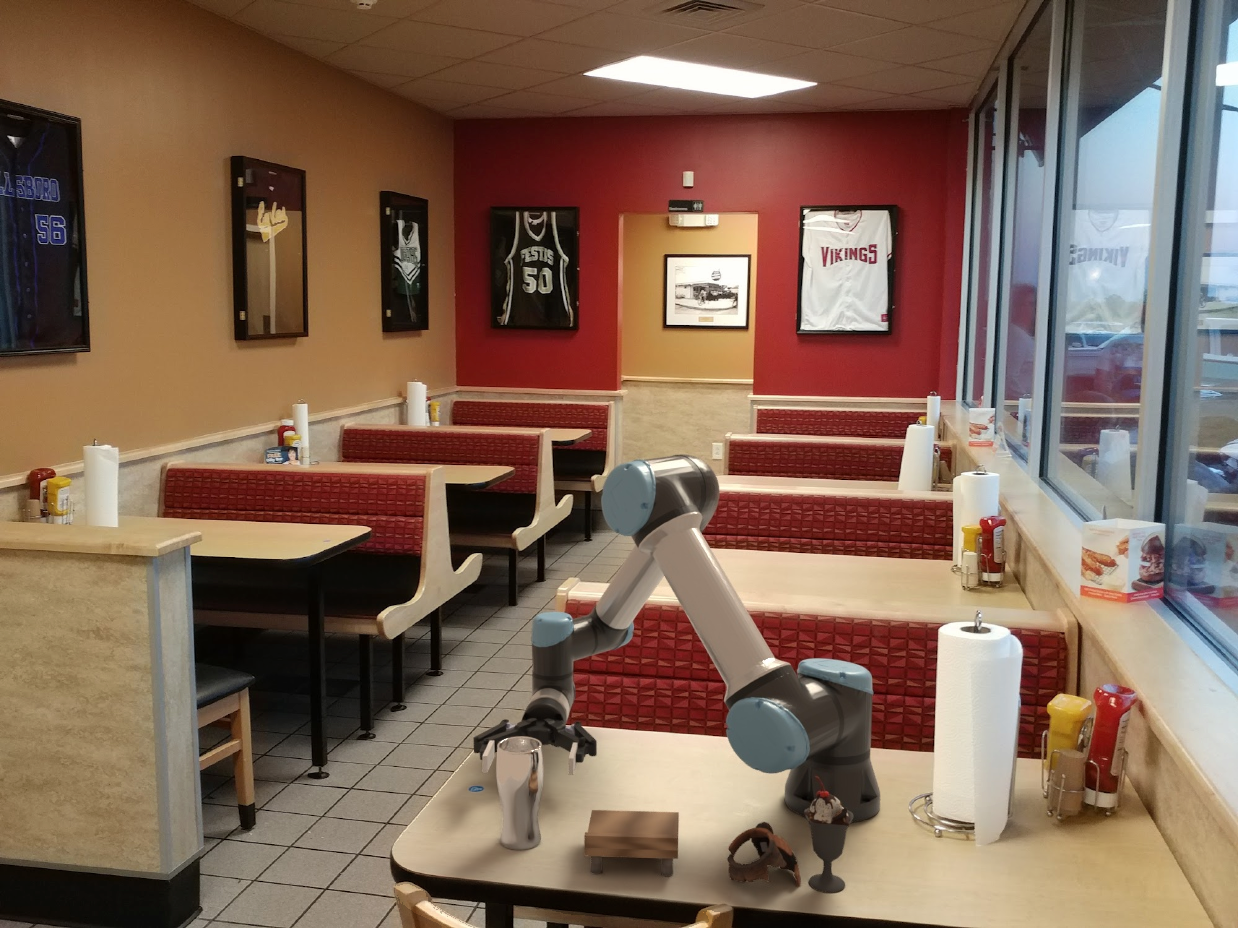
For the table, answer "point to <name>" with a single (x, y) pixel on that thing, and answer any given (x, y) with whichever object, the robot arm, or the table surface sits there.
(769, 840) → the broken clay pot
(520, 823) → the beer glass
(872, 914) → the table surface
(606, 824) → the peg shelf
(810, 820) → the sundae
